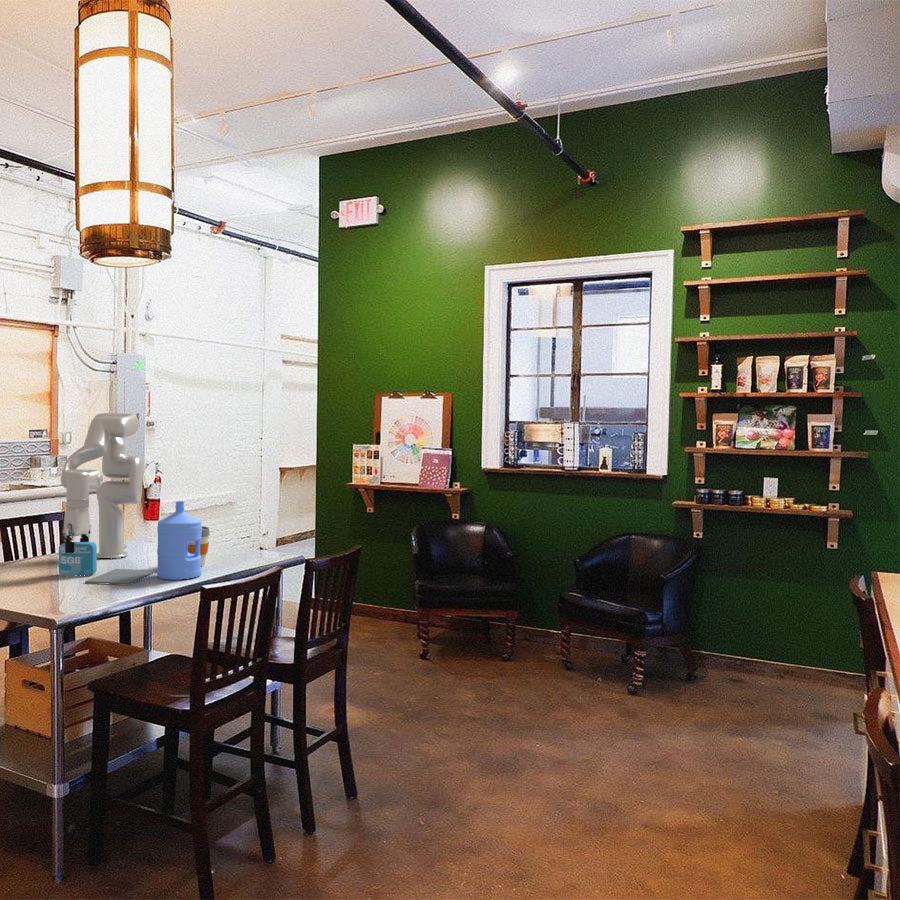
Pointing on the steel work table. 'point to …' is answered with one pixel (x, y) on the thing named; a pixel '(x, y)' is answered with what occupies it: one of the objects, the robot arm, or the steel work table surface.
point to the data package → (78, 559)
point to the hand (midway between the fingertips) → (77, 550)
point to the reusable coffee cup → (201, 545)
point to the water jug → (178, 545)
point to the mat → (121, 576)
